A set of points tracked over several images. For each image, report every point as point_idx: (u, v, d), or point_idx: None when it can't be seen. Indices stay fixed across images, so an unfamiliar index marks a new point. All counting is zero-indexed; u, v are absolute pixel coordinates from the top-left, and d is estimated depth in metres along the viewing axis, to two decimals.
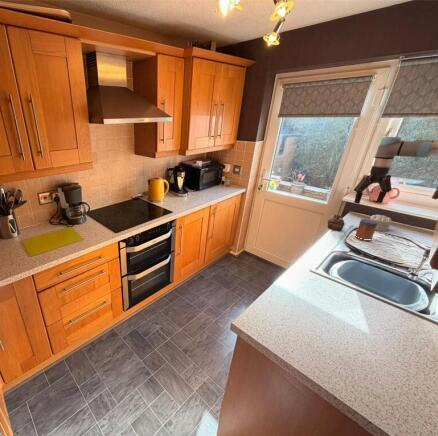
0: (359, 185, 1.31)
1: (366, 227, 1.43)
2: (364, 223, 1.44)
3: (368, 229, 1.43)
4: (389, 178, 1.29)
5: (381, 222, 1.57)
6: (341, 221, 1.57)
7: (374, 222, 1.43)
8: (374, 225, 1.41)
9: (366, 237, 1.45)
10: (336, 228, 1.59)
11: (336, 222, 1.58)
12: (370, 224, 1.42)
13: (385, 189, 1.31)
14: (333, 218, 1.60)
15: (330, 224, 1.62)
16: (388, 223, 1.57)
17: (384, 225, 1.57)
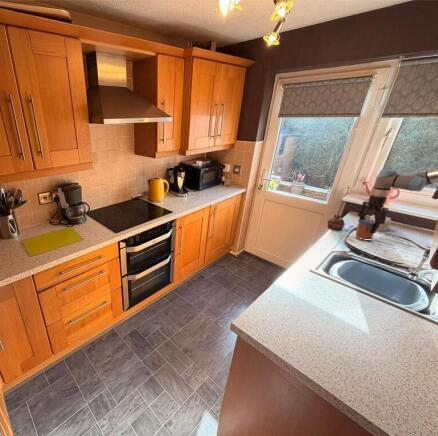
0: None
1: (366, 227, 1.43)
2: (364, 223, 1.44)
3: (368, 229, 1.43)
4: (382, 210, 1.36)
5: None
6: (341, 221, 1.57)
7: (374, 222, 1.43)
8: None
9: (366, 237, 1.45)
10: (336, 228, 1.59)
11: (336, 222, 1.58)
12: (370, 224, 1.42)
13: (375, 220, 1.40)
14: (333, 218, 1.60)
15: (330, 224, 1.62)
16: (388, 223, 1.57)
17: (384, 225, 1.57)
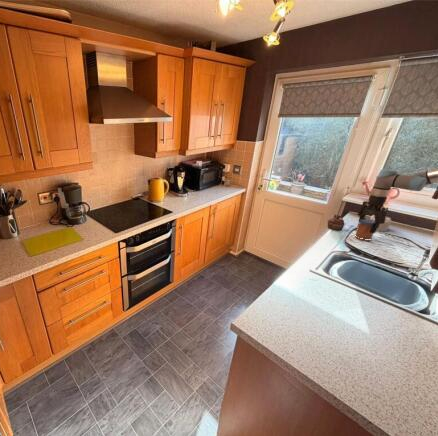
0: None
1: (366, 227, 1.43)
2: None
3: (368, 229, 1.43)
4: (381, 210, 1.36)
5: None
6: (341, 221, 1.57)
7: (369, 219, 1.46)
8: None
9: (366, 237, 1.45)
10: (336, 228, 1.59)
11: (336, 222, 1.58)
12: None
13: (375, 220, 1.40)
14: (333, 218, 1.60)
15: (330, 224, 1.62)
16: (388, 223, 1.57)
17: (384, 225, 1.57)
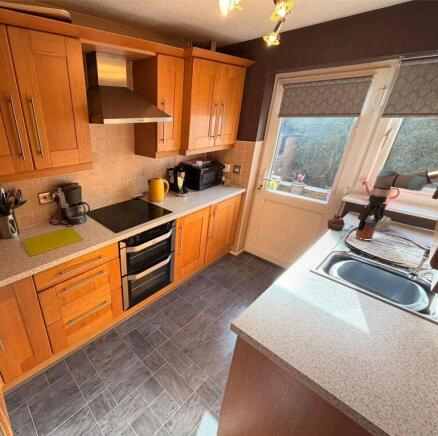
0: (362, 214, 1.42)
1: (367, 227, 1.43)
2: None
3: (369, 229, 1.43)
4: (384, 207, 1.41)
5: (381, 222, 1.57)
6: (341, 221, 1.57)
7: None
8: None
9: (367, 237, 1.45)
10: (336, 228, 1.59)
11: (336, 222, 1.58)
12: None
13: (378, 217, 1.43)
14: (333, 218, 1.60)
15: (330, 224, 1.62)
16: (388, 223, 1.57)
17: (384, 225, 1.57)
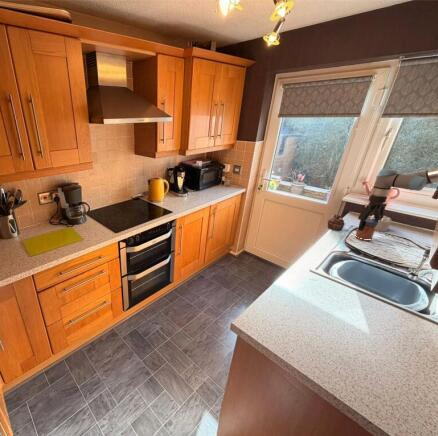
0: (362, 214, 1.41)
1: (368, 227, 1.43)
2: None
3: (370, 229, 1.42)
4: (384, 207, 1.41)
5: (381, 222, 1.57)
6: (341, 221, 1.57)
7: (370, 222, 1.42)
8: None
9: (368, 237, 1.44)
10: (336, 228, 1.59)
11: (336, 222, 1.58)
12: None
13: (378, 217, 1.43)
14: (333, 218, 1.60)
15: (330, 224, 1.62)
16: (388, 223, 1.57)
17: (384, 225, 1.57)
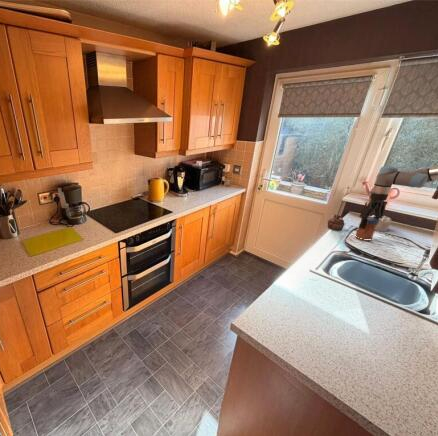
0: (363, 212, 1.41)
1: (368, 227, 1.43)
2: (370, 222, 1.41)
3: (370, 229, 1.42)
4: (385, 204, 1.40)
5: (381, 222, 1.57)
6: (341, 221, 1.57)
7: (375, 219, 1.43)
8: (378, 222, 1.41)
9: (368, 237, 1.44)
10: (336, 228, 1.59)
11: (336, 222, 1.58)
12: (376, 222, 1.40)
13: (379, 215, 1.43)
14: (333, 218, 1.60)
15: (330, 224, 1.62)
16: (388, 223, 1.57)
17: (384, 225, 1.57)
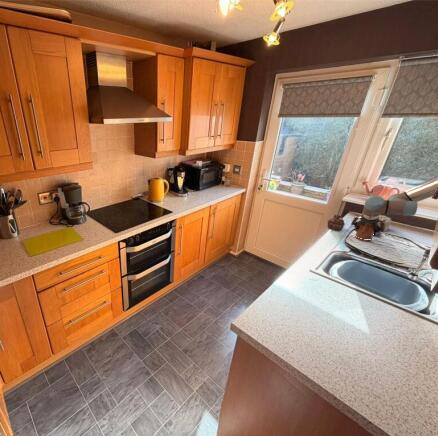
0: (384, 227, 1.37)
1: (368, 227, 1.43)
2: (380, 234, 1.52)
3: (370, 229, 1.42)
4: None
5: None
6: (341, 221, 1.57)
7: None
8: None
9: (368, 237, 1.44)
10: (336, 228, 1.59)
11: (336, 222, 1.58)
12: None
13: None
14: (333, 218, 1.60)
15: (330, 224, 1.62)
16: (388, 223, 1.57)
17: None
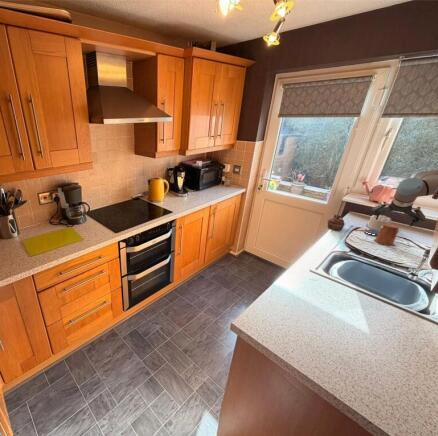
0: (422, 215, 1.17)
1: (390, 231, 1.37)
2: None
3: (392, 233, 1.37)
4: None
5: (381, 222, 1.57)
6: (341, 221, 1.57)
7: (371, 230, 1.56)
8: None
9: (390, 241, 1.39)
10: (336, 228, 1.59)
11: (336, 222, 1.58)
12: None
13: (381, 209, 1.29)
14: (333, 218, 1.60)
15: (330, 224, 1.62)
16: (388, 223, 1.57)
17: None
